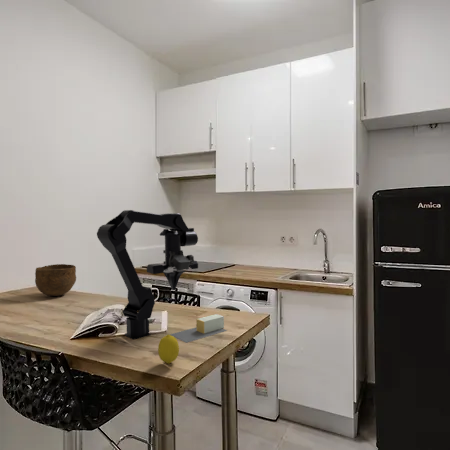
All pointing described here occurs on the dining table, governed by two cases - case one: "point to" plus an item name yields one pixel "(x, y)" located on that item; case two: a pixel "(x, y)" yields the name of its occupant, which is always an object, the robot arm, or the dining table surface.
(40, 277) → the bowl
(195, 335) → the mat
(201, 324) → the block
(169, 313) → the dining table surface
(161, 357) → the lemon
